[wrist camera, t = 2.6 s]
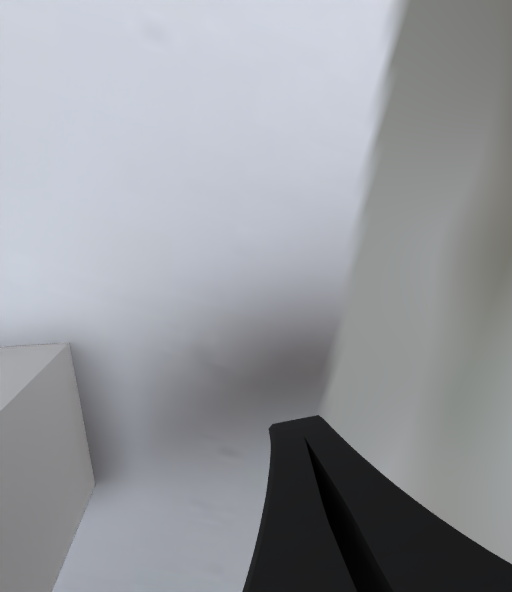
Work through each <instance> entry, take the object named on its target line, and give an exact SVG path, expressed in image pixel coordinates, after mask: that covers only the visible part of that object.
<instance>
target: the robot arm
mask: <svg viewBox="0 0 512 592" xmlns="http://www.w3.org/2000/svg"><path fill="white" fill-rule="evenodd" d="M269 433H270V440H271V455H270V469H269V477H268V485H267V492H266V498H265V503H264V508H263V513H262V518H261V524H260V529H259V533H258V537H257V541H256V545H255V549H254V553H253V557H252V561H251V564H250V568H249V572H248V575H247V579H246V582H245V585H244V589H243V592H512V564H510V563H509V562H507V561H505V560H503V559H502V558H500V557H498V556H497V555H495V554H493V553H492V552H490V551H488V550H487V549H485V548H484V547H482V546H481V545H479V544H477V543H476V542H474V541H472V540H471V539H470V538H468V537H466V536H465V535H464V534H462V533H461V532H459V531H458V530H456V529H454V528H453V527H452V526H450V525H449V524H447V523H446V522H444V521H443V520H441V519H440V518H439V517H437V516H436V515H434V514H433V513H431V512H430V511H429V510H428V509H426V508H425V507H423V506H422V505H421V504H419V503H418V502H417V501H415V500H414V499H413V498H412V497H410V496H409V495H408V494H406V493H405V492H404V491H403V490H401V489H400V488H399V487H397V486H396V485H395V484H394V483H393V482H391V481H390V480H389V479H388V478H386V477H385V476H384V475H383V474H382V473H380V472H379V471H378V470H377V469H376V468H375V467H374V466H372V465H371V464H370V463H369V462H368V461H367V460H365V459H364V458H363V457H362V456H361V455H360V454H359V453H357V451H355V450H354V449H353V448H352V447H351V446H350V445H349V444H348V443H347V442H346V441H345V440H344V439H343V438H342V437H341V436H340V435H339V434H337V432H336V431H335V430H334V429H332V428H331V426H330V425H329V424H328V423H327V422H326V421H325V420H324V419H323V418H322V417H320V416H319V415H317V416H312V417H307V418H301V419H296V420H291V421H286V422H281V423H276V424H272V425H271V427H270V428H269Z"/></svg>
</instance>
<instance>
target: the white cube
mask: <svg viewBox="0 0 512 592" xmlns="http://www.w3.org/2000/svg"><path fill="white" fill-rule="evenodd" d="M94 488H95V480H94V474H93V469H92V464H91V458H90V453H89V447H88V442H87V437H86V431H85V426H84V420H83V415H82V409H81V404H80V399H79V393H78V388H77V382H76V377H75V371H74V366H73V361H72V355H71V350H70V344H69V343H55V344H40V345H25V346H11V347H0V592H52V590H53V587H54V585H55V583H56V580H57V578H58V575H59V573H60V570H61V568H62V566H63V563H64V561H65V558H66V556H67V553H68V551H69V548H70V546H71V544H72V541H73V539H74V536H75V534H76V531H77V529H78V527H79V524H80V522H81V519H82V517H83V514H84V512H85V509H86V507H87V505H88V502H89V500H90V497H91V495H92V492H93V490H94Z"/></svg>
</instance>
